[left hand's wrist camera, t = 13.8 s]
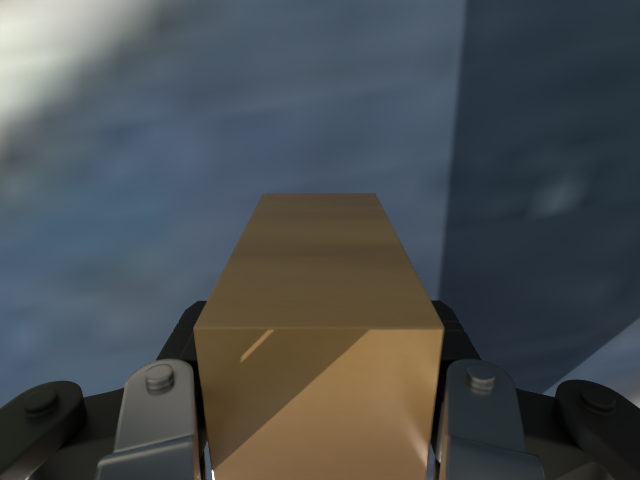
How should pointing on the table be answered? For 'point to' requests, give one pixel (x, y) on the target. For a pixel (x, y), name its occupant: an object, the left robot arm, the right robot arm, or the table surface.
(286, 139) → the table surface
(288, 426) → the bar
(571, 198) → the table surface
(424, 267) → the table surface
